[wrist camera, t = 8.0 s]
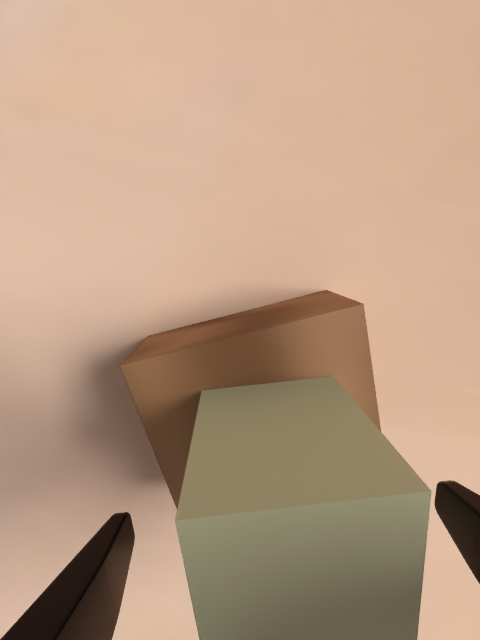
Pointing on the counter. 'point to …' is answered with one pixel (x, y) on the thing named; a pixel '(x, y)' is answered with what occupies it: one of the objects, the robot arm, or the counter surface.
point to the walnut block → (245, 365)
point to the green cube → (299, 518)
